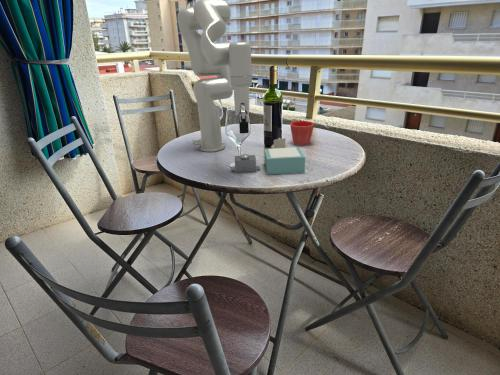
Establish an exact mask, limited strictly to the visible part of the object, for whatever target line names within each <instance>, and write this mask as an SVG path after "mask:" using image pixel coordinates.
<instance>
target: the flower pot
mask: <svg viewBox="0 0 500 375" xmlns="http://www.w3.org/2000/svg"><path fill="white" fill-rule="evenodd" d="M289 125H290V132H291V137H292V143H293V144H294V145H295V144H296V145H295V146H300V145H303V146H307V145H310V143H311V138H312V135H313V131H314V126H315V124H314V122H312V121H307V120H296V121H295V120H294V121H292V122H290V124H289Z"/></svg>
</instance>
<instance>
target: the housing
mask: <svg viewBox="0 0 500 375" xmlns="http://www.w3.org/2000/svg"><path fill="white" fill-rule="evenodd" d="M230 171H231V173H234V174H242V173H243V174H244V173H245V174H246V173H257V172H259V171H261V166H260V165H257V159H256V154H248V153H243V154H240V155H234V166H233V167H231V168H230Z"/></svg>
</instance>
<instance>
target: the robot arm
mask: <svg viewBox="0 0 500 375" xmlns="http://www.w3.org/2000/svg"><path fill="white" fill-rule="evenodd" d="M231 12H232V10H231V7H230V5H229V3H228V2H227V0H197V1H196V2H195V3H194V5H193V6H187V7H183V8H182V9H180V10H179V11H178V14H177V23H178V24H177V25H178V30H179V32H180V36H182V39H183V40H184V42H185V45H186V48H187V50H188V51H187V52H188V55H189V56H188V57H189V62H190V65H191V68H192V69H191V70H192V72H193V74H194V75H195V76H196V77H208V78H200V79H198V80H196V81H195V82H194V83H193V93H194V96H195V100H196V105H197V111H198V119H199V120H198V121H199V130H200V137H201V138H200V139H196V140H193V139H192V145H194V146H198V149H199V151H201V152H206V153H208V152H209V153H210V152H211V153H212V152H213V153H214V152H219V151H223V150H224V149H225V148H226V144H225V143H224V142H223V141H222V140H223V139H222V138H223V137H222V127H221V117H220V116H221V114H220V109H219V107H218V105H216V104H215V102H214V101H217V100H226V99H229V98H231V97H232V96H233V100H234V102H233V103H234V114H235V116H236V117H238V125H239V134H241V135H242V134H249V133H250V132H249V131H250V128H249V127H250V126H249V120H248V116H249V114H250V87H252V86H253V72H252V70H253V69H252V48H251V44H250V43H249V42H247V41H237V42H236V41H234V42H233V41H232V42H229V41H228V42H225V41H224V42H217V41H219V40H220V39H221V38H222V37H223V36H224V35H225V34H226V30H227V24H228V23H229V22H230V19H231V17H232V13H231ZM199 30H202V32H201V34H200V33H199V32H198V31H199ZM211 76H212V77H211ZM213 76H216V77H213Z"/></svg>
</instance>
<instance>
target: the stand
mask: <svg viewBox="0 0 500 375" xmlns="http://www.w3.org/2000/svg"><path fill="white" fill-rule="evenodd" d="M263 153H264V154H263V155H264V166H265V169H266V174H267V175H281V174H283V175H284V174H300V173H302V174H303V173H306V172H305V171H306V156H305V155H304V153H303V151H302V150H301V148H300V147H285V148H275V149H272V148H265V149H264V151H263Z"/></svg>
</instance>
